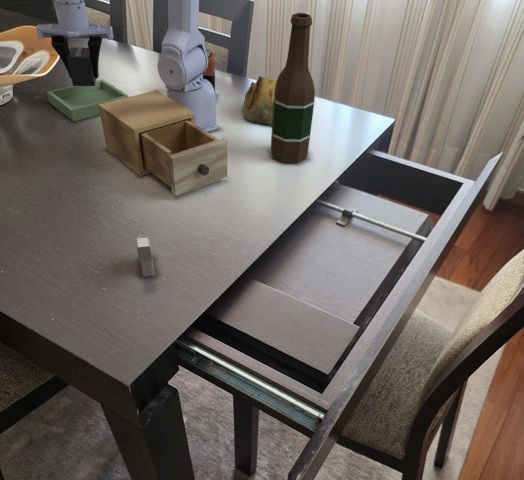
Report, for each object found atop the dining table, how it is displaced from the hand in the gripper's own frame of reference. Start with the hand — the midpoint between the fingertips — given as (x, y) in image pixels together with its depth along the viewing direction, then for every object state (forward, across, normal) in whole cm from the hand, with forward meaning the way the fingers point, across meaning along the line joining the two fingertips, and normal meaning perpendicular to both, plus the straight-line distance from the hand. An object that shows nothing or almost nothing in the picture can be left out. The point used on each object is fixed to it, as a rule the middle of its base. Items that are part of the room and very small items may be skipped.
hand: (84, 76), depth 104 cm
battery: (+6, +25, +4) cm, 26 cm away
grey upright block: (+6, +14, -60) cm, 62 cm away
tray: (+6, 0, 0) cm, 6 cm away
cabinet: (+6, +14, -23) cm, 28 cm away
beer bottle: (+6, +41, -24) cm, 48 cm away
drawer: (+5, +21, -33) cm, 39 cm away
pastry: (+6, +40, -6) cm, 41 cm away
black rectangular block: (+1, 0, 0) cm, 1 cm away
